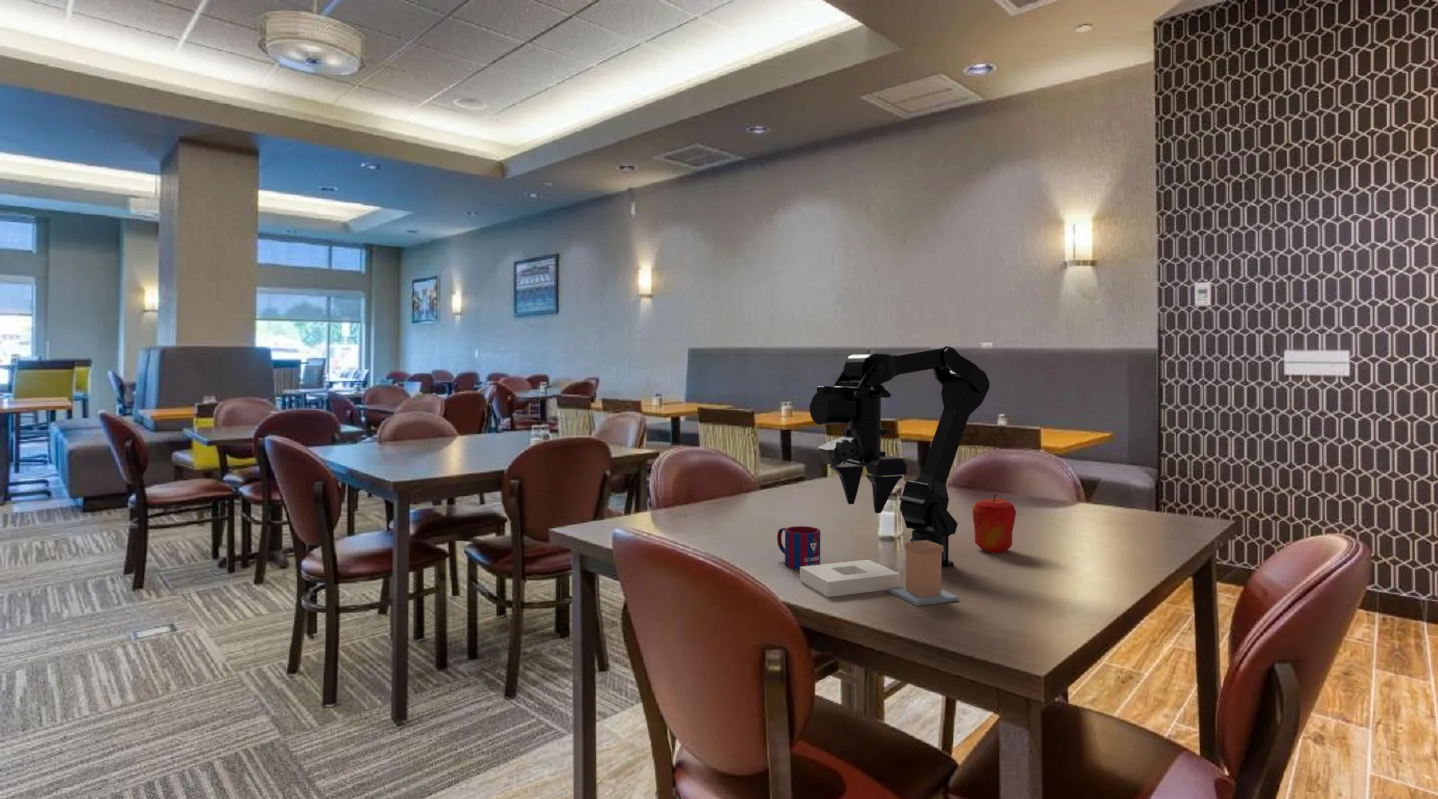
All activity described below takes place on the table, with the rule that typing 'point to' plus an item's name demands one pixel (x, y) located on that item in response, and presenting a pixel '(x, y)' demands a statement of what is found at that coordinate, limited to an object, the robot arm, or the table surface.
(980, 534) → the apple
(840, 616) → the table surface
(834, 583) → the white flat block
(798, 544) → the mug
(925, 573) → the plug
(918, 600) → the pad
